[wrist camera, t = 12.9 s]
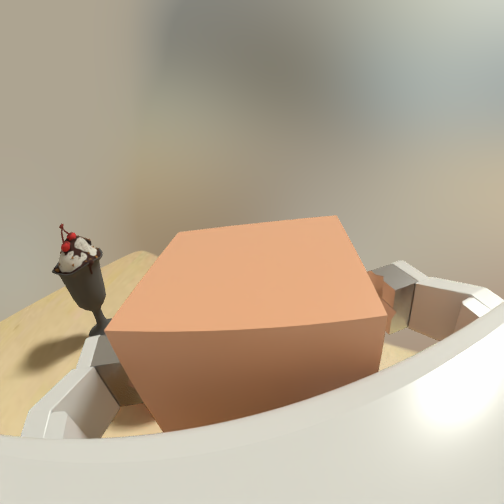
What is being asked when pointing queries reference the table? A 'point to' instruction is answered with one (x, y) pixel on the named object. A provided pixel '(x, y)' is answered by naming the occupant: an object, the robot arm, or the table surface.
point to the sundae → (83, 277)
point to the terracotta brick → (248, 321)
